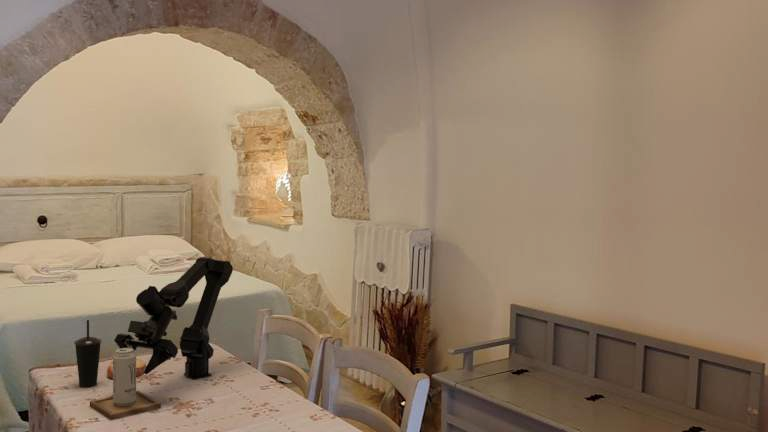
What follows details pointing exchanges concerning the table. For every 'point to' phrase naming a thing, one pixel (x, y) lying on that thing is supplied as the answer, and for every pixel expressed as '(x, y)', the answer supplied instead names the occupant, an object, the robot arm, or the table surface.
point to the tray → (115, 412)
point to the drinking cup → (88, 359)
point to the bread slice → (139, 368)
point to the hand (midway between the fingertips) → (132, 371)
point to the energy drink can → (124, 377)
